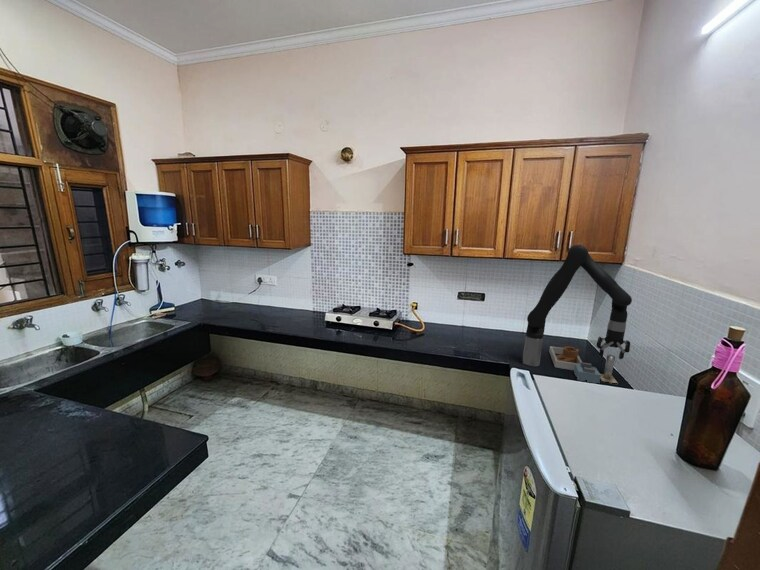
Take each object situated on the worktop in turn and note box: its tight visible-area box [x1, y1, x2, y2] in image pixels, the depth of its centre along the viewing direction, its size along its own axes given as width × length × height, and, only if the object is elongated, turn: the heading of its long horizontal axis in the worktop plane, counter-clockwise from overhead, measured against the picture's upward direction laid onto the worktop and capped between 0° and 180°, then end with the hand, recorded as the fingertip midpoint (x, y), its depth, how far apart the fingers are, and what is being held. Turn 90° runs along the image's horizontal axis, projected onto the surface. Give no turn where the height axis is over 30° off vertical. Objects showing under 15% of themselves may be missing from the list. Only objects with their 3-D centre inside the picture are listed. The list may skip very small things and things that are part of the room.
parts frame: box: [548, 345, 583, 371], centre depth 193 cm, size 14×24×4 cm, turn 159°
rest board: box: [600, 373, 619, 385], centre depth 171 cm, size 7×9×1 cm
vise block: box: [573, 361, 601, 384], centre depth 172 cm, size 10×10×7 cm
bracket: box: [556, 346, 580, 363], centre depth 193 cm, size 18×8×7 cm, turn 119°
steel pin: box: [603, 353, 616, 380], centre depth 170 cm, size 4×4×13 cm
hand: (610, 357), depth 169 cm, fingers open, 8 cm apart
